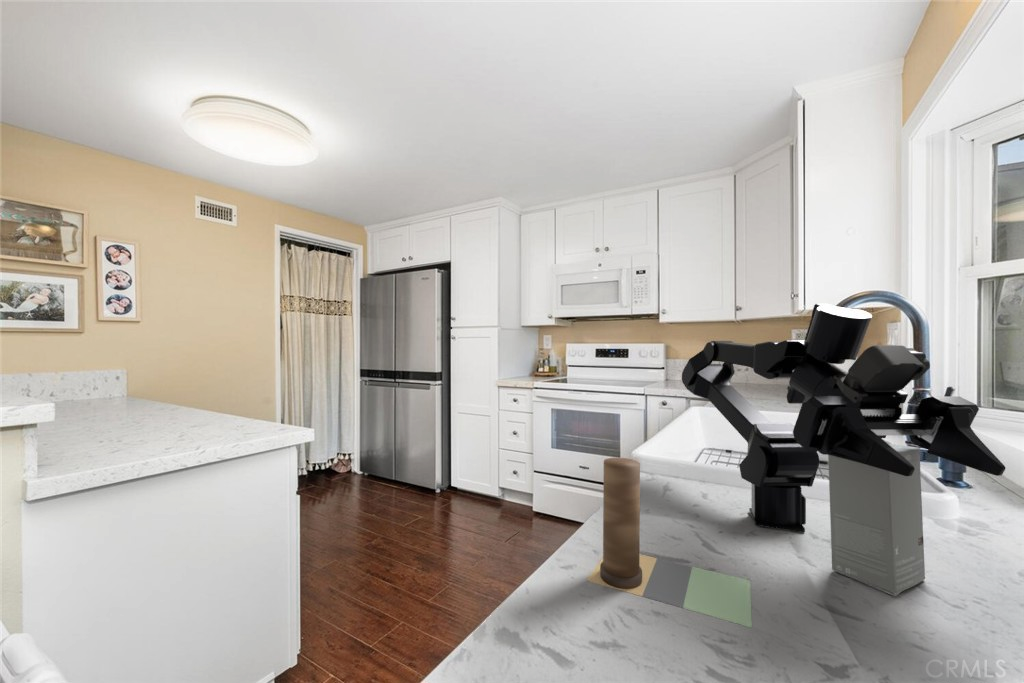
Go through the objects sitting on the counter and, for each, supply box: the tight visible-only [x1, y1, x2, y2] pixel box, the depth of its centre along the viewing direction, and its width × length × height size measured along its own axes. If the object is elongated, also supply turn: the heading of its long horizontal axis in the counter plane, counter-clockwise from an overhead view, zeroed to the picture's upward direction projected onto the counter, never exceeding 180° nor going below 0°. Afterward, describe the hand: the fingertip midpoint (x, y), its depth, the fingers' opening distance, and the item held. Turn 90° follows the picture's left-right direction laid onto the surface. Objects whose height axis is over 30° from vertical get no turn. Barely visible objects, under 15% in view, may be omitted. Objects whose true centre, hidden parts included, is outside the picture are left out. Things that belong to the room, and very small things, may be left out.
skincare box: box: [827, 442, 926, 597], centre depth 51 cm, size 8×7×16 cm
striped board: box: [586, 553, 753, 629], centre depth 47 cm, size 16×9×1 cm, turn 61°
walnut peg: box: [600, 457, 642, 589], centre depth 48 cm, size 5×5×13 cm
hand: (957, 472), depth 40 cm, fingers open, 9 cm apart
